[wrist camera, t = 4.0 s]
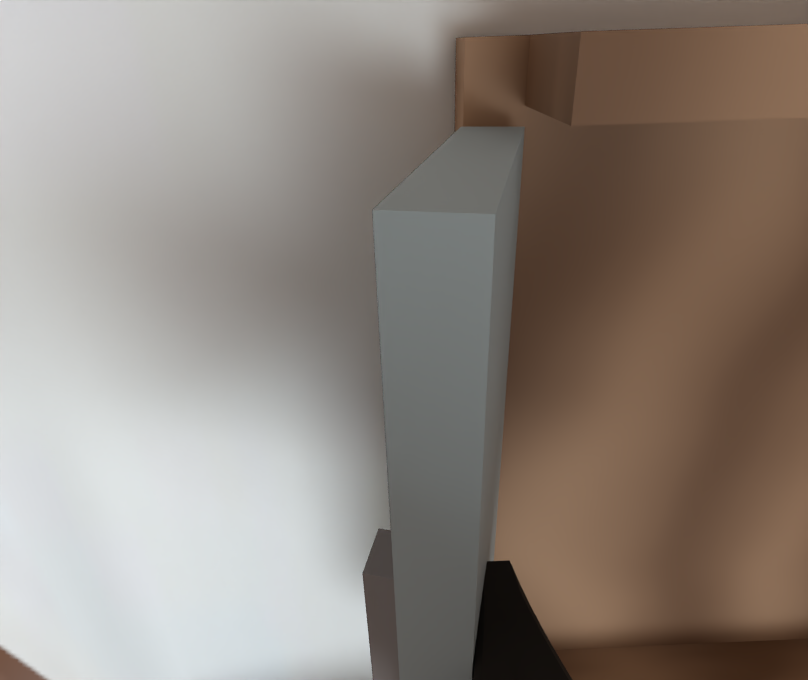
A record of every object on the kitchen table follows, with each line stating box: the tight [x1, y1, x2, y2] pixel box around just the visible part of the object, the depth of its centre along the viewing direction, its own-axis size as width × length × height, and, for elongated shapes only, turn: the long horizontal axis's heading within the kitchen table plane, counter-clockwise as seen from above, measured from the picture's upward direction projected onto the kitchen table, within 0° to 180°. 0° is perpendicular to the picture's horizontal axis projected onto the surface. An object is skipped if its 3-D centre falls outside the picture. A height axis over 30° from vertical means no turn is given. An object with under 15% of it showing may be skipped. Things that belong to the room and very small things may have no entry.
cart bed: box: [455, 24, 808, 680], centre depth 14 cm, size 16×20×4 cm
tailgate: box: [363, 127, 525, 680], centre depth 12 cm, size 2×17×6 cm, turn 2°
